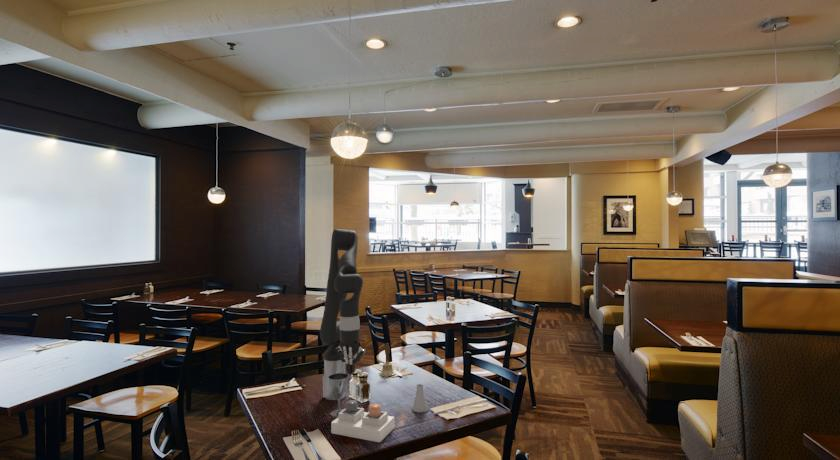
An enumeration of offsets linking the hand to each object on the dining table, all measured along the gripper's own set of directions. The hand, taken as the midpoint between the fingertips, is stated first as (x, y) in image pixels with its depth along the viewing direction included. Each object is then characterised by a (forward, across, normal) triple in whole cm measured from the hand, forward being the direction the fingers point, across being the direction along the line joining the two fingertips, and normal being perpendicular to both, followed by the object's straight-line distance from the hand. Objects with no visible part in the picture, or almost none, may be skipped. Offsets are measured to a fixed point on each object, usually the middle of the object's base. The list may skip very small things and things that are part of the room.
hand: (350, 373), depth 161 cm
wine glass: (+21, -12, +10) cm, 26 cm away
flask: (+21, +18, +24) cm, 36 cm away
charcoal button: (+14, 0, 0) cm, 14 cm away
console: (+21, +5, 0) cm, 21 cm away
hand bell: (+21, -14, +58) cm, 63 cm away
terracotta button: (+14, +10, 0) cm, 17 cm away
